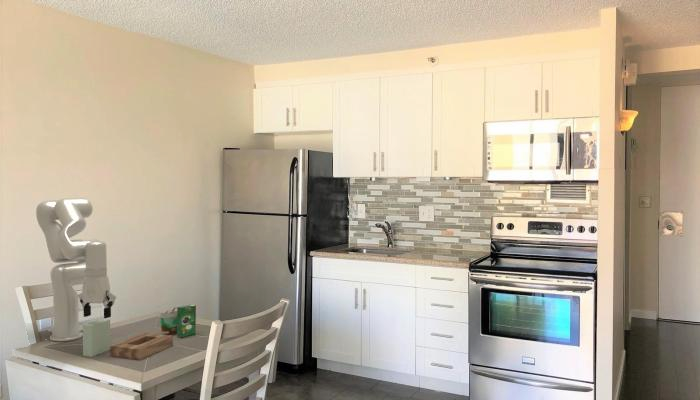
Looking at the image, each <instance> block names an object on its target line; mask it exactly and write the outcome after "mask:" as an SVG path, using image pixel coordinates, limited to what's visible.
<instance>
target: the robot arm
mask: <svg viewBox="0 0 700 400" xmlns="http://www.w3.org/2000/svg"><path fill="white" fill-rule="evenodd" d="M93 209H94V208H93V205H92V202H91V201H90V199H87V198H86V197H74V198H73V197H72V198H71V197H67V198H61V199H59V200H46V201H42V202H40V203H38V204H37V207H36V212H35V215H36V221H37V224H38V226H39V227H40V229H41V231H42V232H43V234H44V237H45V241H46V246H47V249H48V254H49V258H50V260H51V261H52V262H53V263H55V264H58V265H55V266H54V267H52V269H51V271H50V282H51V285H52V295H53V296H52V299H53V325H52V326H50V327H49V328H48V329H47V332H50V333H51V335H50V336H49V340H50V341H52V342H68V341H74V340H78V339H81V338H83V331H82V332H81V331H80V330H79V329H80V328H79V326H80V325H79V323H80V321H79V315H80V314H79V312H80V311H79V302H80V304H81V306H82V307H83V310H82V311H83V318H87V317H89V316H92V307H91V304H102V305H103V307H104V308H103V319H109V318H111V317H112V307H113V305H115V302H116V299H117V296H116V295H115V294H113V292H111V286H110V280H109V276H108V273H107V272H108V270H107V269H108V266H107V265H108V262H107V243H106V242H105V241H100V240H99V239H85V240H84V239H70V238H72V237H75V236H77V235H78V234H80V233H81V232H83V231H84V230H85V229H86V226H87V222H86V220H85V219H87V218H89V217H91V215H92V213H93ZM57 221H59V222H60V223H61V224H60V223H59V222H57ZM77 285H82V287H81V288H82V290H81V291H82V292H81V293H79V294H78V292H77V291H76V290H75V289H74V288H73V286H77Z"/></svg>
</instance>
